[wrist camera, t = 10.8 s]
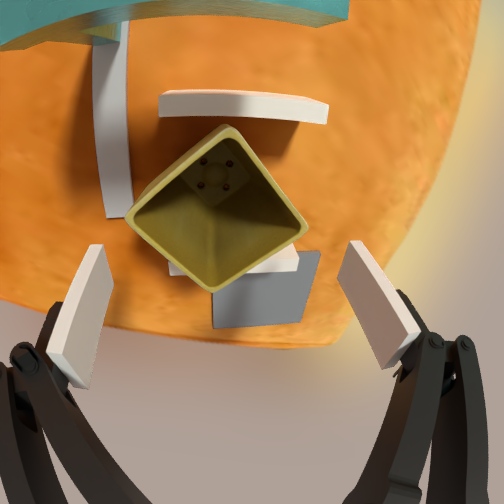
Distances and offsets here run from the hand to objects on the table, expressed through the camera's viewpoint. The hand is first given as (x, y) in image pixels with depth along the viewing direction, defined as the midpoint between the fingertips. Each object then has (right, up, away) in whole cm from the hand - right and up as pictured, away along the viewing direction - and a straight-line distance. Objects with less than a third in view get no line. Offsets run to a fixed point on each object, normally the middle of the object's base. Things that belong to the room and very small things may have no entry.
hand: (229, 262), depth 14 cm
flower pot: (-2, +8, +10) cm, 13 cm away
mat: (+2, -4, +20) cm, 20 cm away
